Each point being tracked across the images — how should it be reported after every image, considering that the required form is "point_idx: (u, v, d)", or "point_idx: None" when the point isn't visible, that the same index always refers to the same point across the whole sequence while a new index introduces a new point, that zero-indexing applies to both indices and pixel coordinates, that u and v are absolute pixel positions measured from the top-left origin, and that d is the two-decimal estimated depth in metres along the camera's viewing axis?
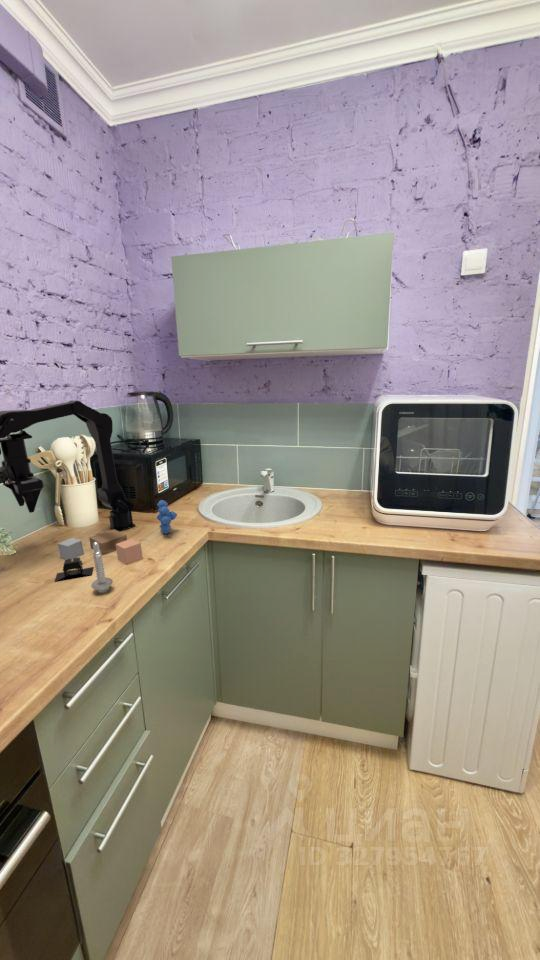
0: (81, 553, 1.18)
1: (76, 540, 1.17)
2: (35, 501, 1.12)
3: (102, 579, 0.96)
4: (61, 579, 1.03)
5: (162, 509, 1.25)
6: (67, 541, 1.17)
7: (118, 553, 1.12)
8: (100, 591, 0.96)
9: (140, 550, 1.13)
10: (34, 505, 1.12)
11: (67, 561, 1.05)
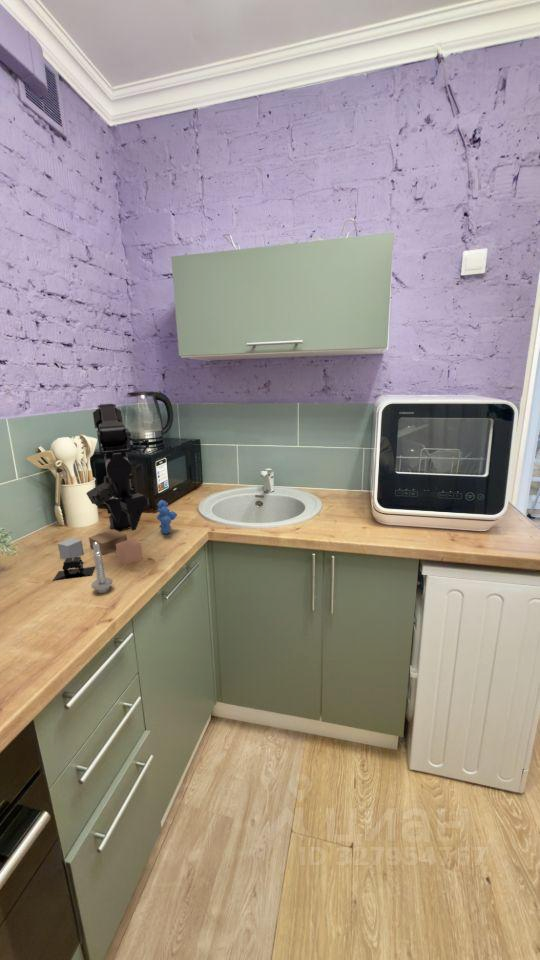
0: (81, 553, 1.18)
1: (76, 540, 1.17)
2: (138, 519, 1.08)
3: (102, 579, 0.96)
4: (61, 577, 1.04)
5: (162, 509, 1.25)
6: (67, 541, 1.17)
7: (118, 553, 1.12)
8: (100, 591, 0.96)
9: (140, 550, 1.13)
10: (137, 522, 1.08)
11: (67, 560, 1.05)
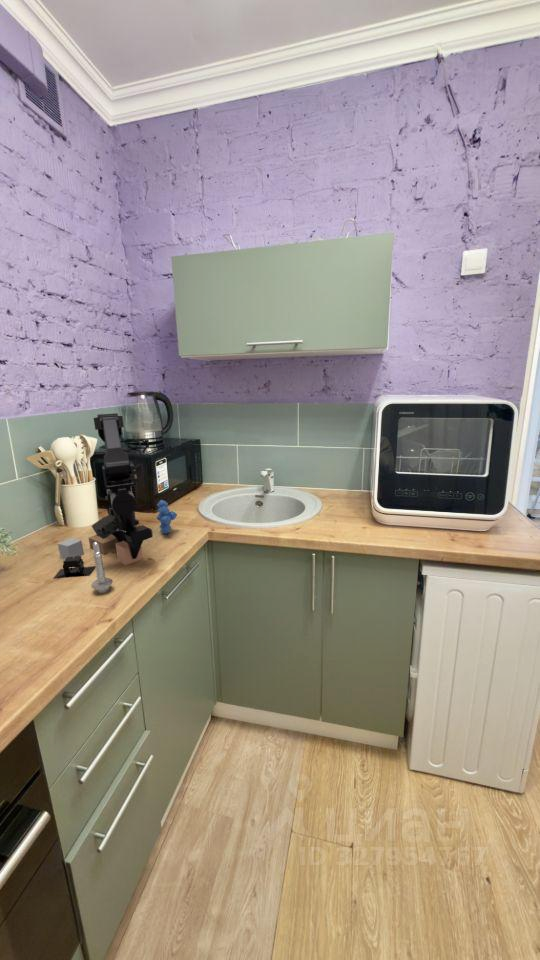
0: (81, 553, 1.18)
1: (76, 540, 1.17)
2: (139, 548, 1.11)
3: (102, 579, 0.96)
4: (60, 576, 1.05)
5: (162, 509, 1.24)
6: (67, 541, 1.17)
7: (118, 553, 1.12)
8: (100, 591, 0.96)
9: (140, 550, 1.13)
10: (137, 551, 1.11)
11: (68, 559, 1.06)
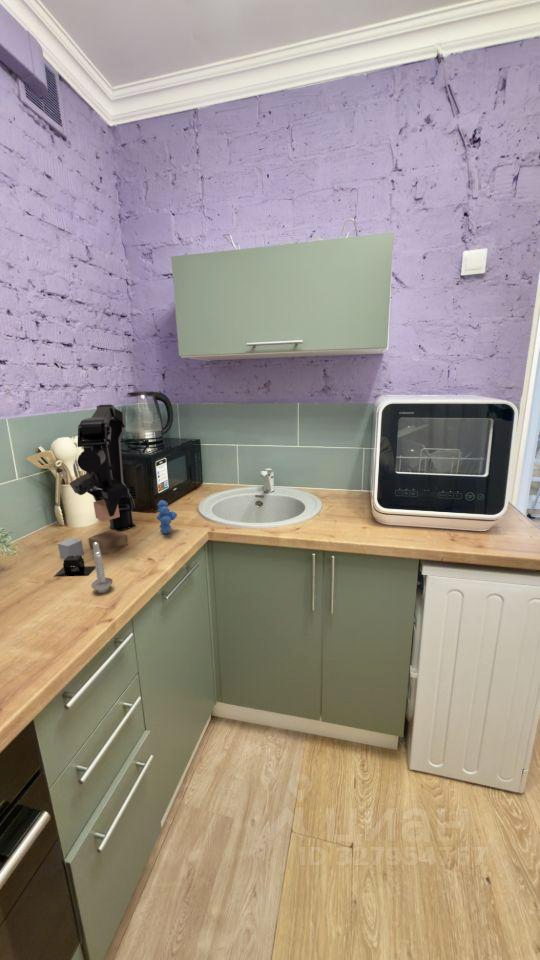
0: (81, 553, 1.18)
1: (76, 540, 1.17)
2: (116, 506, 1.16)
3: (102, 579, 0.96)
4: (60, 574, 1.06)
5: (162, 509, 1.25)
6: (67, 541, 1.17)
7: (96, 511, 1.17)
8: (100, 591, 0.96)
9: (117, 508, 1.18)
10: (114, 509, 1.17)
11: (68, 557, 1.07)
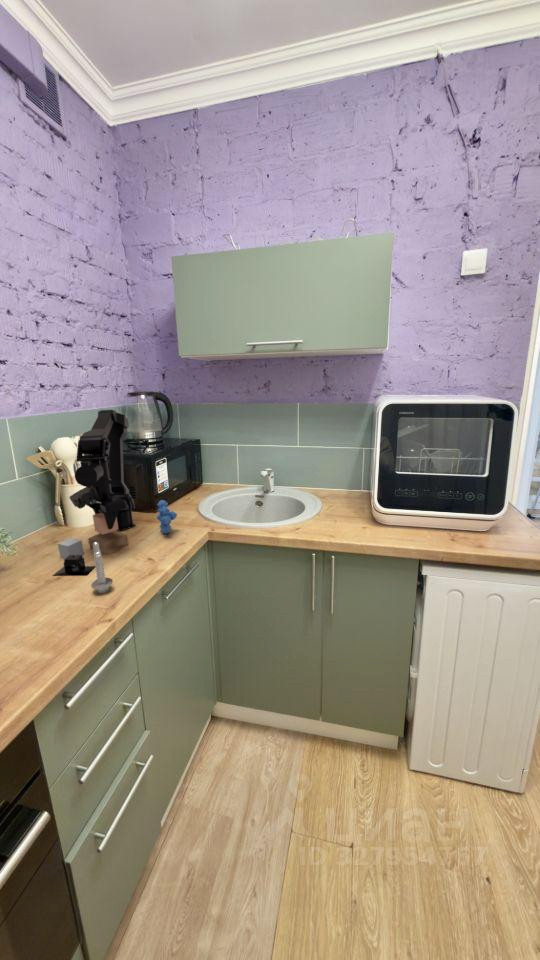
0: (81, 553, 1.18)
1: (76, 540, 1.17)
2: (114, 519, 1.19)
3: (102, 579, 0.96)
4: (61, 573, 1.06)
5: (162, 509, 1.25)
6: (67, 541, 1.17)
7: (95, 523, 1.20)
8: (100, 591, 0.96)
9: (116, 521, 1.20)
10: (113, 522, 1.19)
11: (69, 557, 1.07)
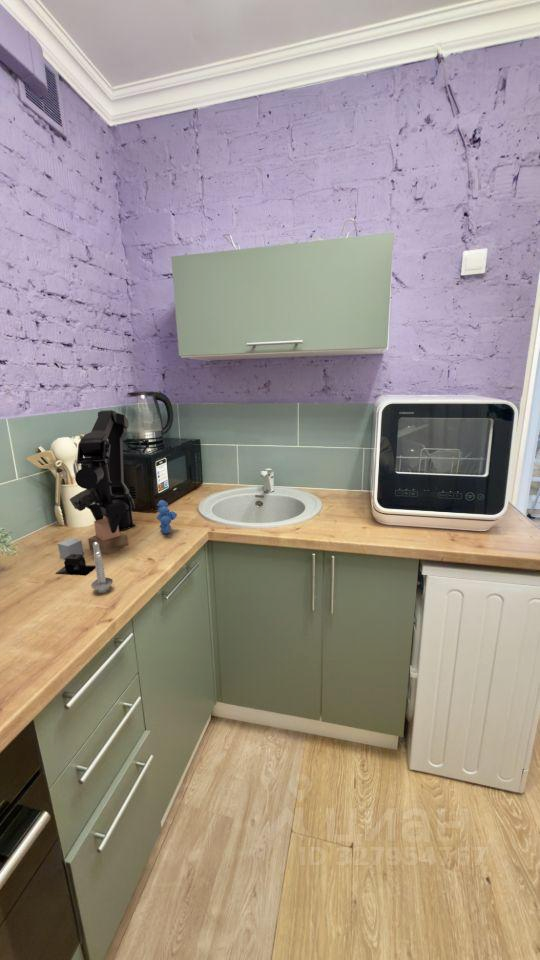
0: (81, 553, 1.18)
1: (76, 540, 1.17)
2: (117, 522, 1.17)
3: (102, 579, 0.96)
4: (61, 572, 1.07)
5: (162, 509, 1.25)
6: (67, 541, 1.17)
7: (96, 530, 1.20)
8: (100, 591, 0.96)
9: (117, 527, 1.21)
10: (116, 526, 1.17)
11: (70, 556, 1.08)
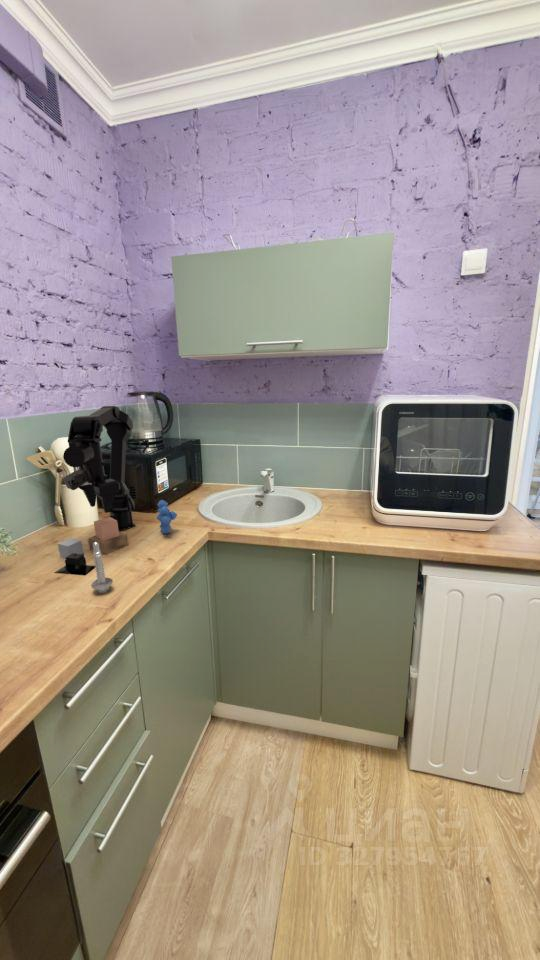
0: (81, 553, 1.18)
1: (76, 540, 1.17)
2: (111, 502, 1.17)
3: (102, 579, 0.96)
4: (62, 571, 1.08)
5: (162, 509, 1.25)
6: (67, 541, 1.17)
7: (96, 530, 1.20)
8: (100, 591, 0.96)
9: (117, 527, 1.20)
10: (110, 506, 1.17)
11: (71, 555, 1.08)
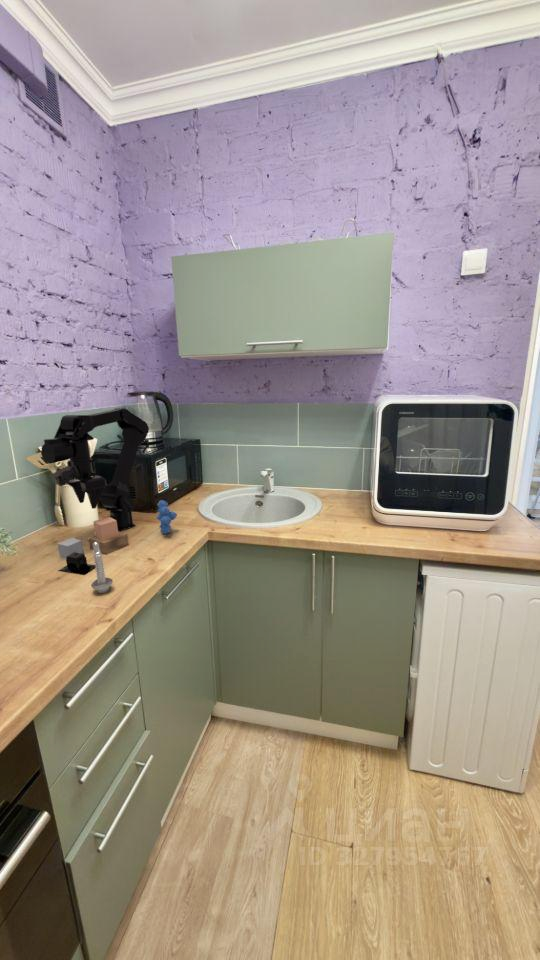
0: None
1: (76, 540, 1.17)
2: (98, 498, 1.21)
3: (102, 579, 0.96)
4: (63, 570, 1.08)
5: (162, 509, 1.25)
6: (67, 541, 1.17)
7: (95, 530, 1.20)
8: (100, 591, 0.96)
9: (116, 527, 1.21)
10: (96, 502, 1.21)
11: (72, 554, 1.09)
